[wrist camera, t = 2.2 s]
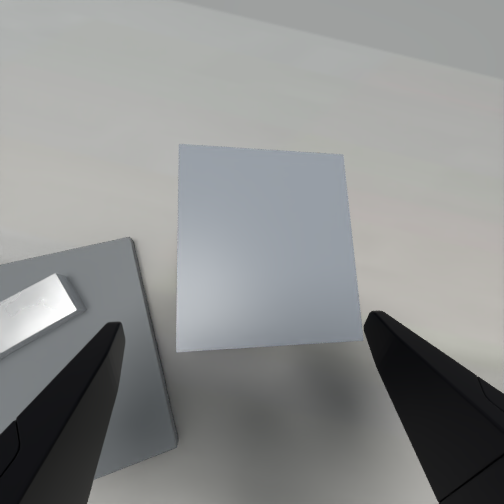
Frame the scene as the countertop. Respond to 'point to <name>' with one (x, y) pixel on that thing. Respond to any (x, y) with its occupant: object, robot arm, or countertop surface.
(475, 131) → the countertop surface
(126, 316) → the grey mounting plate
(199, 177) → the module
